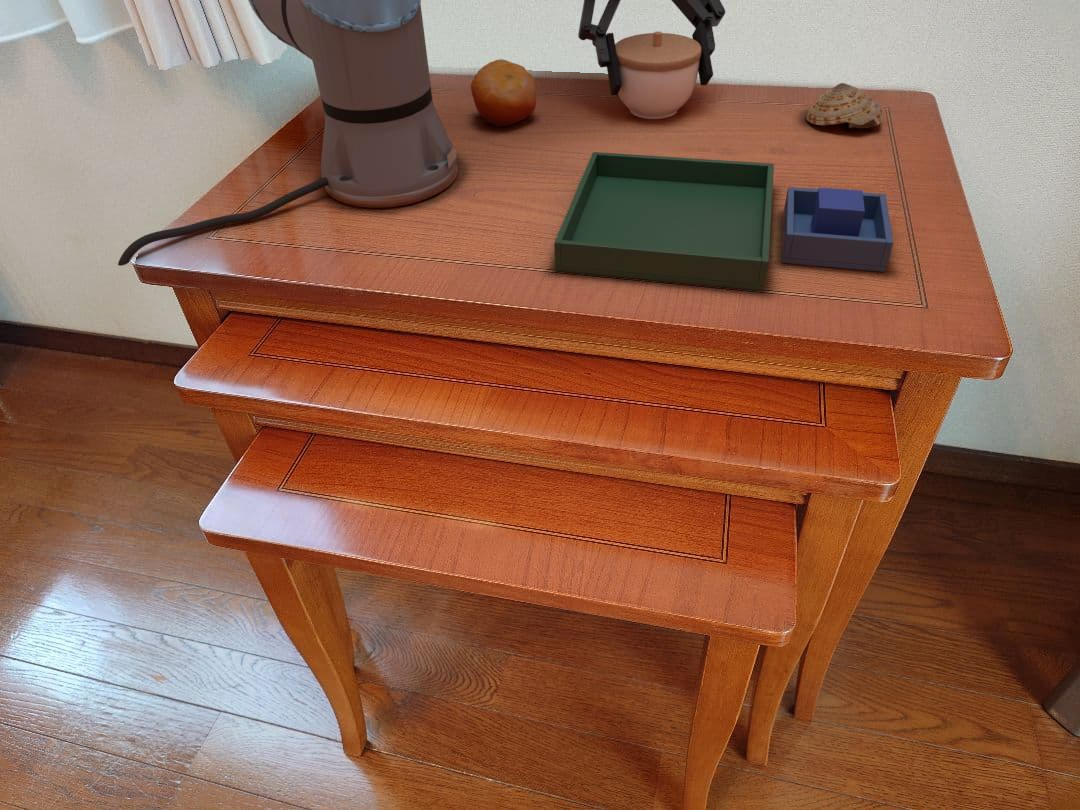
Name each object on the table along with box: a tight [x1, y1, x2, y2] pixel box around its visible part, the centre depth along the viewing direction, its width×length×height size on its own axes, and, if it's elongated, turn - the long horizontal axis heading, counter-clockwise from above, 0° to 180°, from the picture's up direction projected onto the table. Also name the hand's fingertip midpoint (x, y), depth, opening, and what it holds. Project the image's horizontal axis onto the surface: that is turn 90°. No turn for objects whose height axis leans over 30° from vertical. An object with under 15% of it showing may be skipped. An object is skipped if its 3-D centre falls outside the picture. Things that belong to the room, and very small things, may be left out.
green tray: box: [553, 151, 775, 292], centre depth 80 cm, size 19×19×3 cm
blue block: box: [811, 187, 865, 237], centre depth 76 cm, size 4×4×4 cm
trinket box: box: [615, 31, 701, 120], centre depth 100 cm, size 11×11×9 cm
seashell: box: [805, 82, 884, 129], centre depth 97 cm, size 8×6×8 cm
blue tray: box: [781, 186, 894, 273], centre depth 76 cm, size 9×9×3 cm
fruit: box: [470, 58, 537, 128], centre depth 100 cm, size 8×8×8 cm
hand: (662, 85), depth 98 cm, fingers closed on trinket box, 11 cm apart
